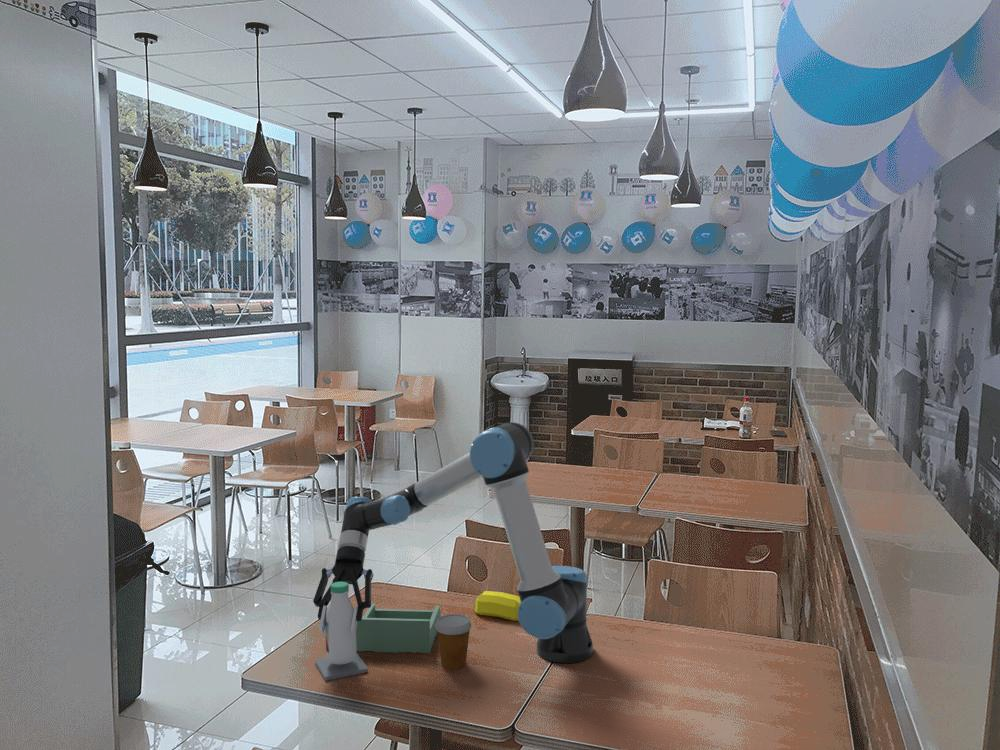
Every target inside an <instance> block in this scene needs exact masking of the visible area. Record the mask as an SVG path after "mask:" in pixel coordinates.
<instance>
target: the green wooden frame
mask: <svg viewBox="0 0 1000 750" xmlns="http://www.w3.org/2000/svg"><path fill="white" fill-rule="evenodd" d="M441 616H442V612H441V605H437V604H436V605H434V609H399V608H398V609H395V608H376V603H371V607H370V608H367V610H366V611H365V613H364V615H362V620H361V621H358V622H357V628H356V652H364V651H375V653H399V652H412V653H411V654H417V653H416V652H420V653H419V654H431V651H432V649H431V648H433V646H434V644H435V641H436V638H437V636H438V633H437V630H436V628H435V624H436V622H437V619H438V618H439V617H441ZM435 637H436V638H435ZM434 640H435V641H434ZM432 645H433V646H432ZM413 652H414V653H413ZM421 652H422V653H421Z"/></svg>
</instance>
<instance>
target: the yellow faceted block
mask: <svg viewBox="0 0 1000 750" xmlns="http://www.w3.org/2000/svg"><path fill="white" fill-rule="evenodd" d="M520 603H521V601H520V597H519V595H516V594H513V593H512V594H511V593H506V592H504V591H503V592H502V591H493V590H492V591H491V590H490V591H489V590H484V591H483V592H482V593H480V594H479V595H478V596H477V597H476V599H475V602H474V604H473V608H474V612H475V613H476V614H477V615H479V614H481V615H480V616H485V615H486V617H495V618H501V619H504V620H509V621H514V622H519V620H518V609H519V606H520Z"/></svg>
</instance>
